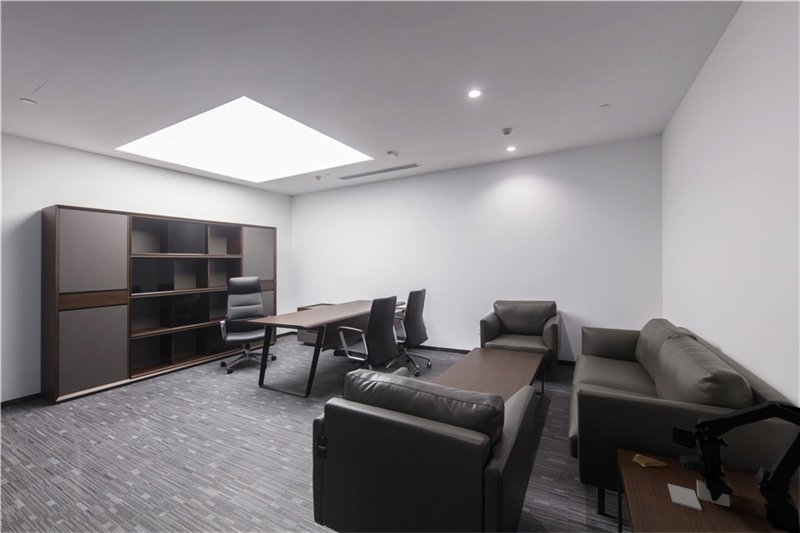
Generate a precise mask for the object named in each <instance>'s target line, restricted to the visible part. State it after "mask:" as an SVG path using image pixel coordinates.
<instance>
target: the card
mask: <svg viewBox="0 0 800 533" xmlns="http://www.w3.org/2000/svg"><path fill="white" fill-rule="evenodd" d="M696 492H697V493H696V496H697V499H698V500H702V501H705V502H709V503H712V504H717V505H720V506H724V507H727V506H728V508H730V507H731V506H730V504H731V503H730V495H726V494H722V495H721V496H720V497H719V499H718V500H717V501H713V500H712V498H711V495H710V491H709V490H708V489H707V488H706V486H705V484H704V482H703V480H702V479H700V480H699V479H696Z"/></svg>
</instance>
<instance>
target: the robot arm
mask: <svg viewBox="0 0 800 533" xmlns="http://www.w3.org/2000/svg"><path fill="white" fill-rule="evenodd" d="M773 418H778V419H780V420H783V421H786V422H788V423H791V424H793V425H795V428H794V433H793V434H792V436H791V437H790V439H789V441H788V442H787V444H786V445H785V447H784V449H783V450H782V451H781V453H780V454H779V456H778V458H777V459H776V461H775V462H774V463H773V465H772V466H771V467H769V468H765V467H764V466H763V465H762V466H761V465H760V467H759V471H758V472H757V473H755V474H754V476H755V479H756V483H757V487H758V492H759V493H760V495H761V496H762V497H763V498H765V499H764V501H765V502H764V503H763V504H762V509H763V517H764V518H765V519H766V521H767V522H768V523H769V525H770V526H771V527H772V528H774V529H778V530H782V531H785V532H788V533H800V517H799V516H800V515H799V513H800V512H799V508H798V507H797V504H796V501H795V498H794V496H793V495H792V494H791V493H790V487H791V480H792V478H793V477H794V476H795V474H796V472H797V471H798V470H799V468H800V406H795V405H789V404H785V403H781V402H777V401H775V400H766V401H764V402H763V403H759V404H755V405H751V406H748V407H744V408H741V409H738V410H734V411H730V412H727V413H720V414H719V413H717V414H716V413H712V414H705V415H701V416H699V418H698V421H697V423H696V424H695V425H693V427H691V429H689V428H685V427H681V426H679V425H676V424H675V425H672V436H671V440H672V445H674V446H678V447H681V448H686V449H689V450H694V449H696V448H697V447H698V449H699V450H698V451H697V452H696V453H697V455H680V456H679V457H678V459H679V461H680V463H681V465H682V467H683V470H684V471H685V472H698V474H699V475H700V476H701V477H702V478H701V481H703V482H704V484H705V486H706V488H707V489H708V490H709V491H710V495H711V498H712V500H713V501H717V500H718V499H719V497H720V496H721V495H722V494H726V495H729V497H730V496H733V488H732V487H731V485H730V483H729V482H728V481H727V480H725V479H723V478H726V474H725V472H724V469H723V466H725V462H724V460H723V451H722V450H723V448H722V446H723V447H727V448H729V447H730V444H729V440H727V439H725V438H724V437H723V435H725V434H727V433H728V432H730V431H732V430H733V429H734V428H738V427H743V426H746V425H749V424H753V423H756V422H757V423H759V422H762V421H765V420H769V419H773ZM697 441H698V442H697ZM698 443H699V446H698Z"/></svg>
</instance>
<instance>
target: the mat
mask: <svg viewBox="0 0 800 533" xmlns="http://www.w3.org/2000/svg"><path fill="white" fill-rule="evenodd" d="M667 487H668V490H669V494H670V497H671V501H672V503H673V504H676V505H680V506H683V507H686V508H689V509H690V508H691V509H694V510H697V511H700V512H702V510H703V509H702V506H701V504H700V501H699V499H698V496H697V493H696V492H695V490H694V489H691V488H686V487H683V486H679V485H675V484H671V483H667Z"/></svg>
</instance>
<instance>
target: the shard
mask: <svg viewBox="0 0 800 533" xmlns="http://www.w3.org/2000/svg"><path fill="white" fill-rule="evenodd" d="M632 461H633V462H634V463H637V464H639V465H640V466H642V467H644V468H646V467H660V468H661V467H667V465H668V463H666V462H663V461H660V460H657V459H655V458H651V457H648V456H645V455H641V454H634V457H633V458H632Z"/></svg>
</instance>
